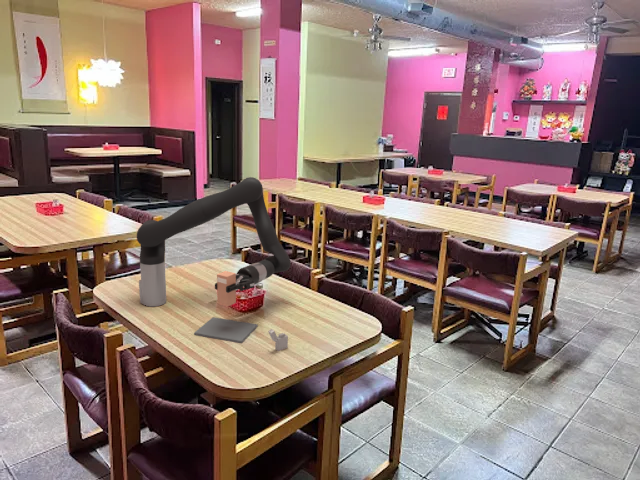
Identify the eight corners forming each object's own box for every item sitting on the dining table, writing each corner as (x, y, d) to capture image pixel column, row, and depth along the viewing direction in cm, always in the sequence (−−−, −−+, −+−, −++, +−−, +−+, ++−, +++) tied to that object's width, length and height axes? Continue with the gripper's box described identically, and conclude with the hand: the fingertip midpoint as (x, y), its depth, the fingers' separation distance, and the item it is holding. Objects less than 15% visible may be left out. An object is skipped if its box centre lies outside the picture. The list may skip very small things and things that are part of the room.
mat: (194, 334, 169) (194, 332, 169) (213, 319, 182) (213, 317, 182) (241, 343, 164) (241, 341, 164) (257, 326, 177) (257, 324, 177)
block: (217, 304, 170) (216, 274, 167) (226, 299, 173) (225, 270, 170) (227, 307, 167) (226, 277, 164) (235, 302, 171) (235, 273, 168)
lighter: (284, 345, 164) (285, 323, 162) (287, 347, 163) (288, 325, 161) (267, 351, 160) (268, 329, 157) (270, 353, 158) (271, 331, 156)
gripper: (237, 261, 183) (205, 273, 169) (267, 268, 176) (237, 282, 162) (237, 280, 185) (205, 294, 171) (267, 288, 178) (237, 303, 164)
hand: (221, 288), depth 166 cm, fingers closed on block, 4 cm apart
